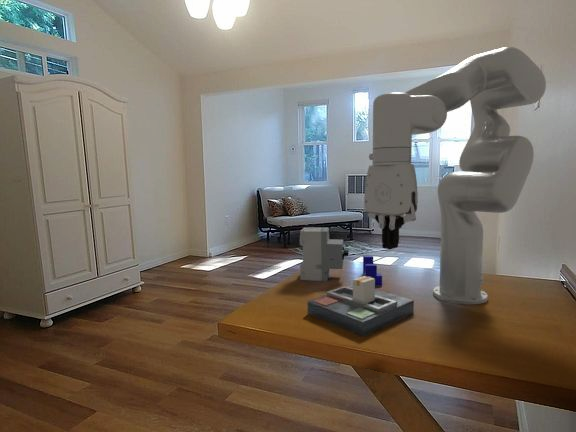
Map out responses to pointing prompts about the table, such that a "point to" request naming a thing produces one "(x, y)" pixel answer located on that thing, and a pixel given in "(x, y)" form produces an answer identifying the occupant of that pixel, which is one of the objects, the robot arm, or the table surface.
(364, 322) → the panel
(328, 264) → the circuit breaker
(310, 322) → the table surface
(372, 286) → the taped parcel
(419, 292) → the table surface
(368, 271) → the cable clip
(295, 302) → the table surface
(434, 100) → the robot arm
